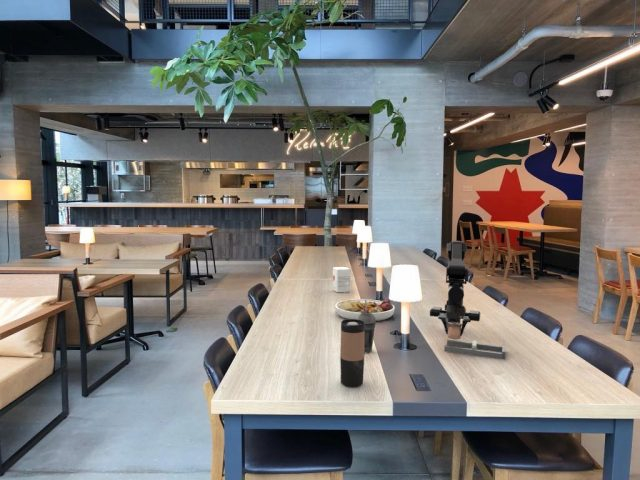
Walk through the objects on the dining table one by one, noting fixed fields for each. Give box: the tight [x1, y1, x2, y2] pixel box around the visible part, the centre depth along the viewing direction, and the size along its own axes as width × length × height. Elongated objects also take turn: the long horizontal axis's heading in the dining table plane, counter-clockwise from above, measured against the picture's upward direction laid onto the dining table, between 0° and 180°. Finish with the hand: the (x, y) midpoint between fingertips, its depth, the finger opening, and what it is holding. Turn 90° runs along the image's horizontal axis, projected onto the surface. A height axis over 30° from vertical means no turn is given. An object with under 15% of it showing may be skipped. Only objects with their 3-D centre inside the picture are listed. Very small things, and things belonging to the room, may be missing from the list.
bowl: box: [334, 298, 396, 322], centre depth 229 cm, size 30×30×8 cm
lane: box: [443, 338, 507, 360], centre depth 176 cm, size 9×22×3 cm, turn 67°
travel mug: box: [339, 319, 365, 388], centre depth 144 cm, size 8×8×20 cm
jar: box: [447, 322, 462, 340], centre depth 178 cm, size 5×5×6 cm
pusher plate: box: [471, 340, 478, 350], centre depth 176 cm, size 6×2×3 cm, turn 157°
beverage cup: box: [358, 300, 377, 354], centre depth 174 cm, size 7×7×20 cm
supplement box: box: [332, 266, 351, 293], centre depth 286 cm, size 9×9×15 cm
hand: (454, 334), depth 178 cm, fingers closed on jar, 5 cm apart
